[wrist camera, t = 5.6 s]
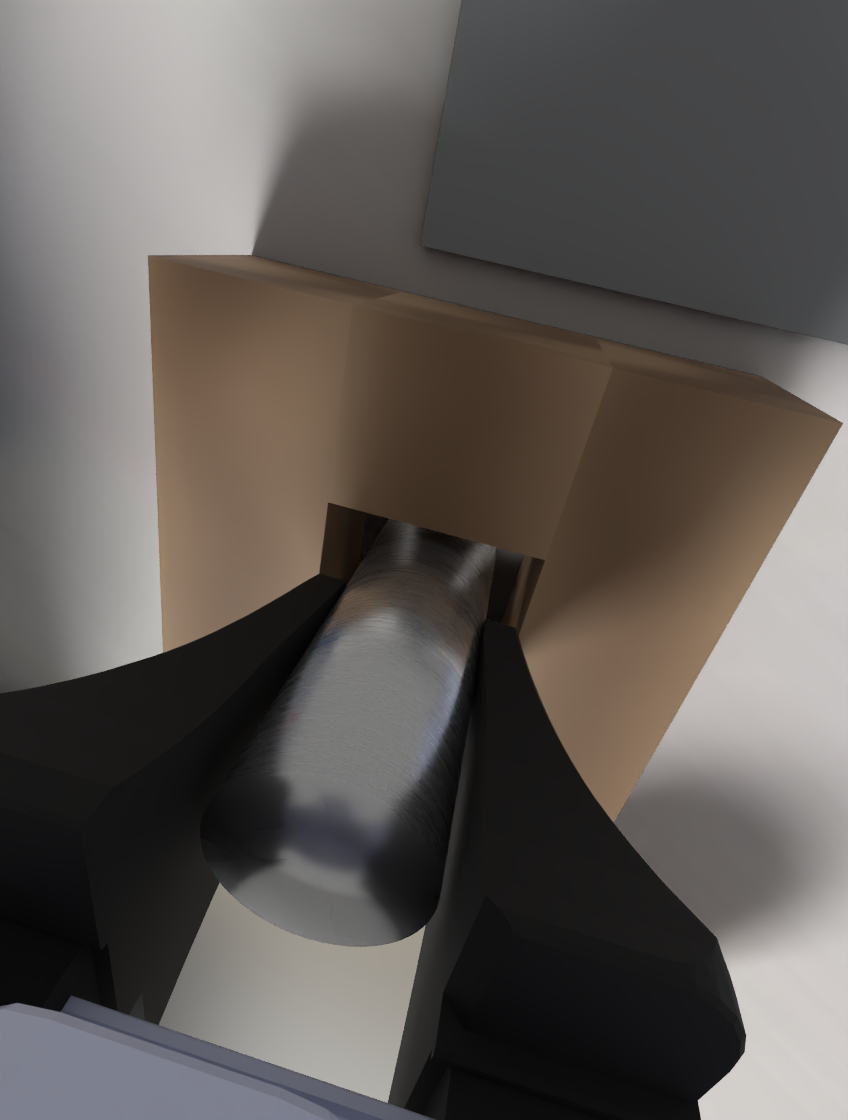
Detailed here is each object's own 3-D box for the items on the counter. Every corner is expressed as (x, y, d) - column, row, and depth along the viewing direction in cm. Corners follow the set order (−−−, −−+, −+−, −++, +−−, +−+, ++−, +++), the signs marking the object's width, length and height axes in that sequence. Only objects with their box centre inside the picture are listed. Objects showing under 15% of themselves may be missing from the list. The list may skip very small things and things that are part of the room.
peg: (514, 520, 14) (478, 838, 6) (472, 616, 15) (398, 975, 8) (399, 478, 14) (216, 738, 6) (368, 577, 16) (187, 892, 8)
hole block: (762, 377, 13) (842, 423, 9) (582, 749, 19) (590, 862, 15) (250, 255, 14) (147, 255, 10) (234, 648, 19) (166, 734, 16)
